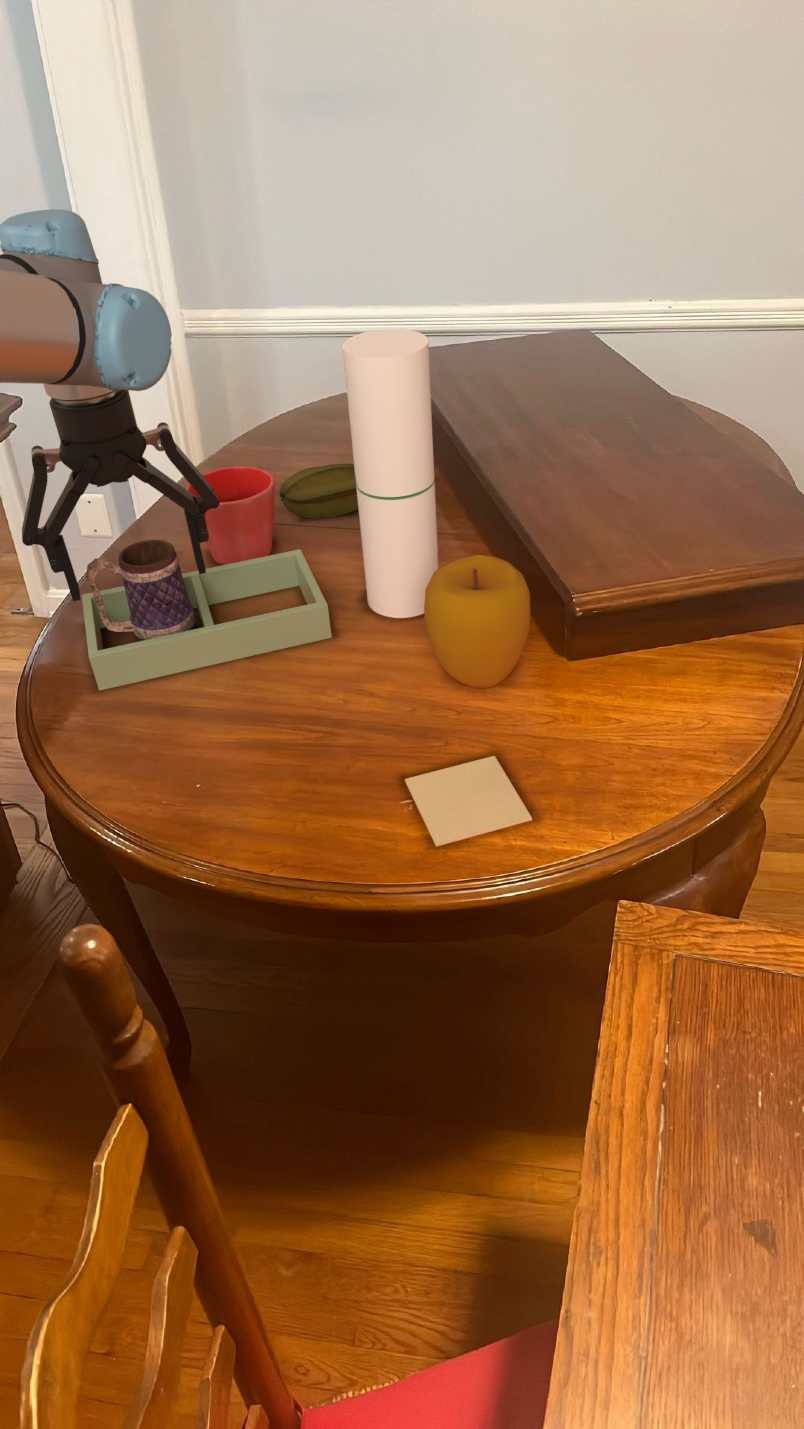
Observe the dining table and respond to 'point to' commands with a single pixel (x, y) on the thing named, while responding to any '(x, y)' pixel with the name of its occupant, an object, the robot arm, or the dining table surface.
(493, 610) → the apple
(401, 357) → the container
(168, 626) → the mug
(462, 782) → the coaster
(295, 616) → the holder
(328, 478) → the fruit
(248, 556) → the flower pot
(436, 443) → the dining table surface
